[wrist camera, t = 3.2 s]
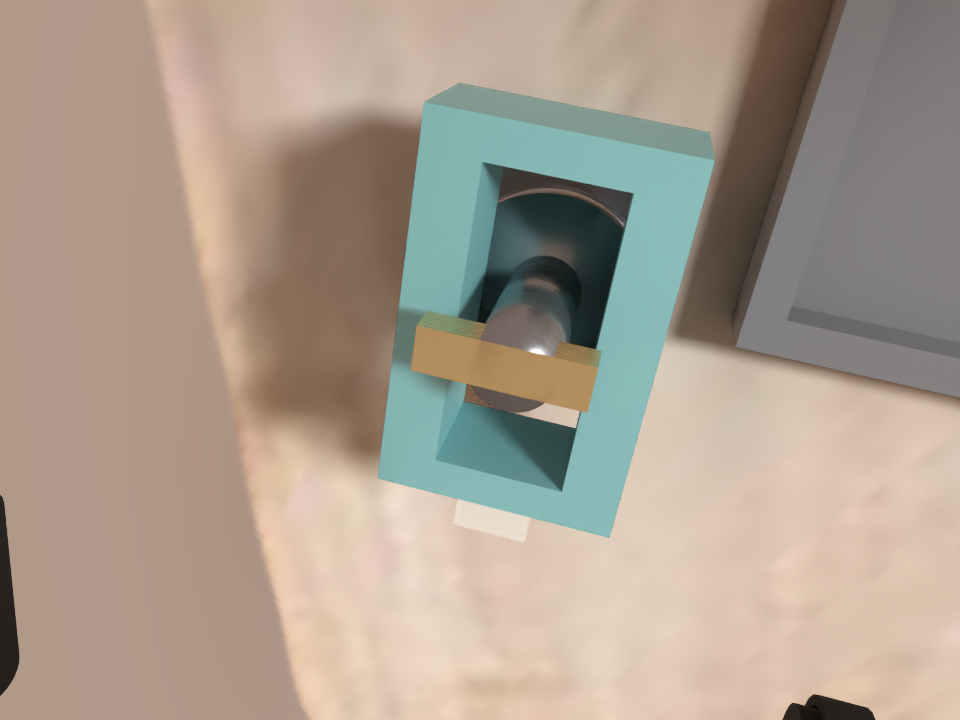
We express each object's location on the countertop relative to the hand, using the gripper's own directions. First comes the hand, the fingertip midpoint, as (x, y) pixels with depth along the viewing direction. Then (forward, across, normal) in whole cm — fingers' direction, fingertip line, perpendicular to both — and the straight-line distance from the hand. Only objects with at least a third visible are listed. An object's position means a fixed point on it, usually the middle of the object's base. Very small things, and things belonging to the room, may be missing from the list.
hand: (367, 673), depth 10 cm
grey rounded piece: (+16, 0, 0) cm, 16 cm away
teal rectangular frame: (+12, 0, 0) cm, 12 cm away
